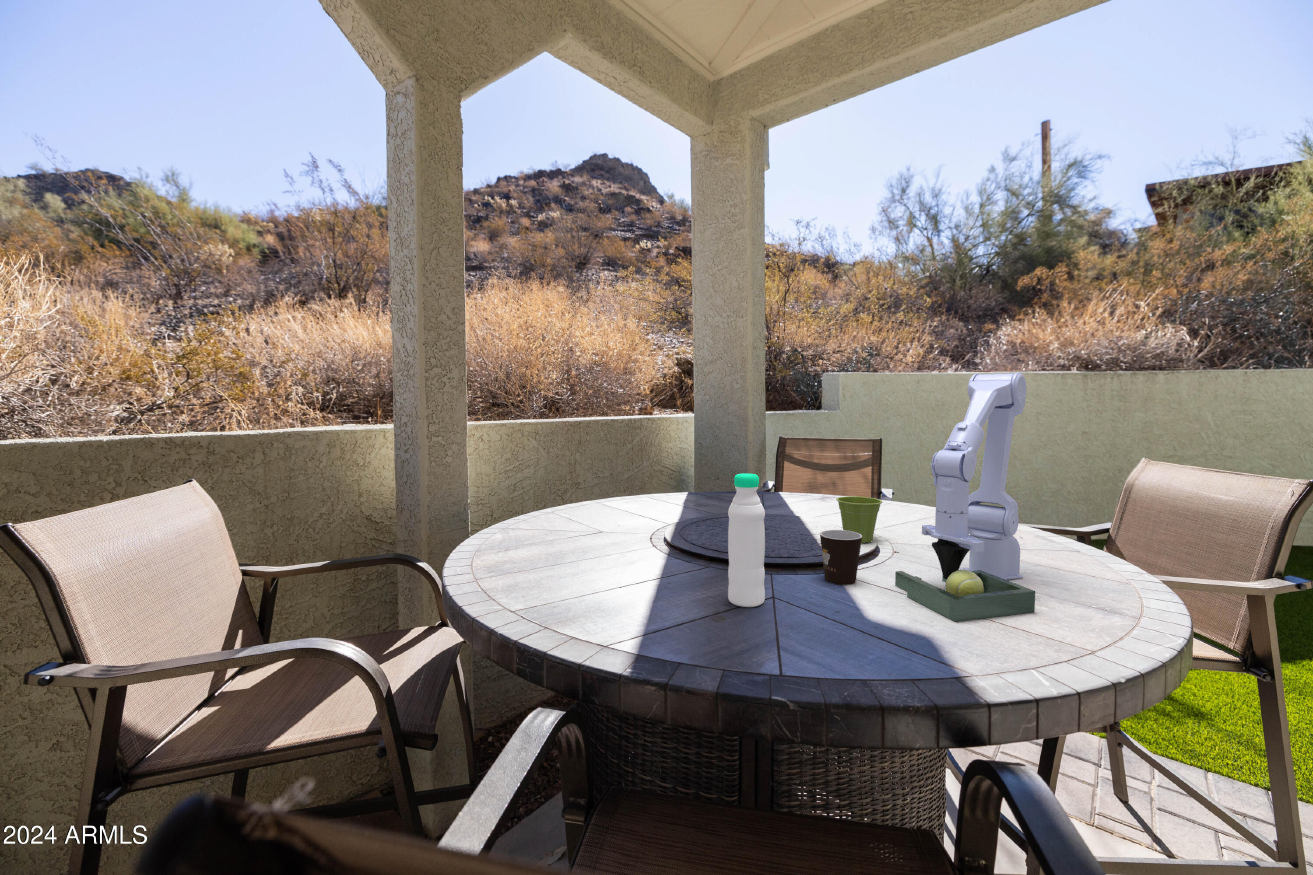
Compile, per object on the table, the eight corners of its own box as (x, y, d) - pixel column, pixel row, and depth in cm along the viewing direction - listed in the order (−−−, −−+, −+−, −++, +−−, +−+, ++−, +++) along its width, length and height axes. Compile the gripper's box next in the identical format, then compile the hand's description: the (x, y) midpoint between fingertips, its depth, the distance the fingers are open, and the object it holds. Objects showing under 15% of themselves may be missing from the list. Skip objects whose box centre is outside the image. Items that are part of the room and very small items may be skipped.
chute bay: (956, 579, 126) (956, 561, 125) (1034, 612, 107) (1035, 590, 106) (886, 586, 122) (887, 567, 121) (955, 621, 103) (955, 599, 102)
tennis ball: (990, 573, 108) (968, 562, 115) (955, 579, 108) (936, 568, 115) (993, 606, 109) (971, 593, 116) (959, 612, 109) (939, 599, 115)
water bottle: (767, 597, 116) (767, 472, 114) (761, 609, 109) (762, 477, 107) (732, 593, 118) (732, 471, 116) (724, 605, 112) (724, 476, 110)
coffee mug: (864, 587, 121) (864, 540, 120) (820, 585, 122) (821, 538, 122) (856, 570, 132) (857, 527, 131) (817, 568, 134) (817, 526, 133)
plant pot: (888, 546, 153) (889, 503, 152) (843, 546, 153) (843, 504, 152) (872, 535, 164) (873, 495, 164) (830, 535, 165) (830, 495, 164)
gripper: (909, 505, 121) (908, 569, 122) (961, 520, 107) (959, 592, 108) (939, 503, 122) (937, 566, 123) (994, 517, 108) (991, 589, 109)
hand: (949, 578), depth 116 cm, fingers closed
